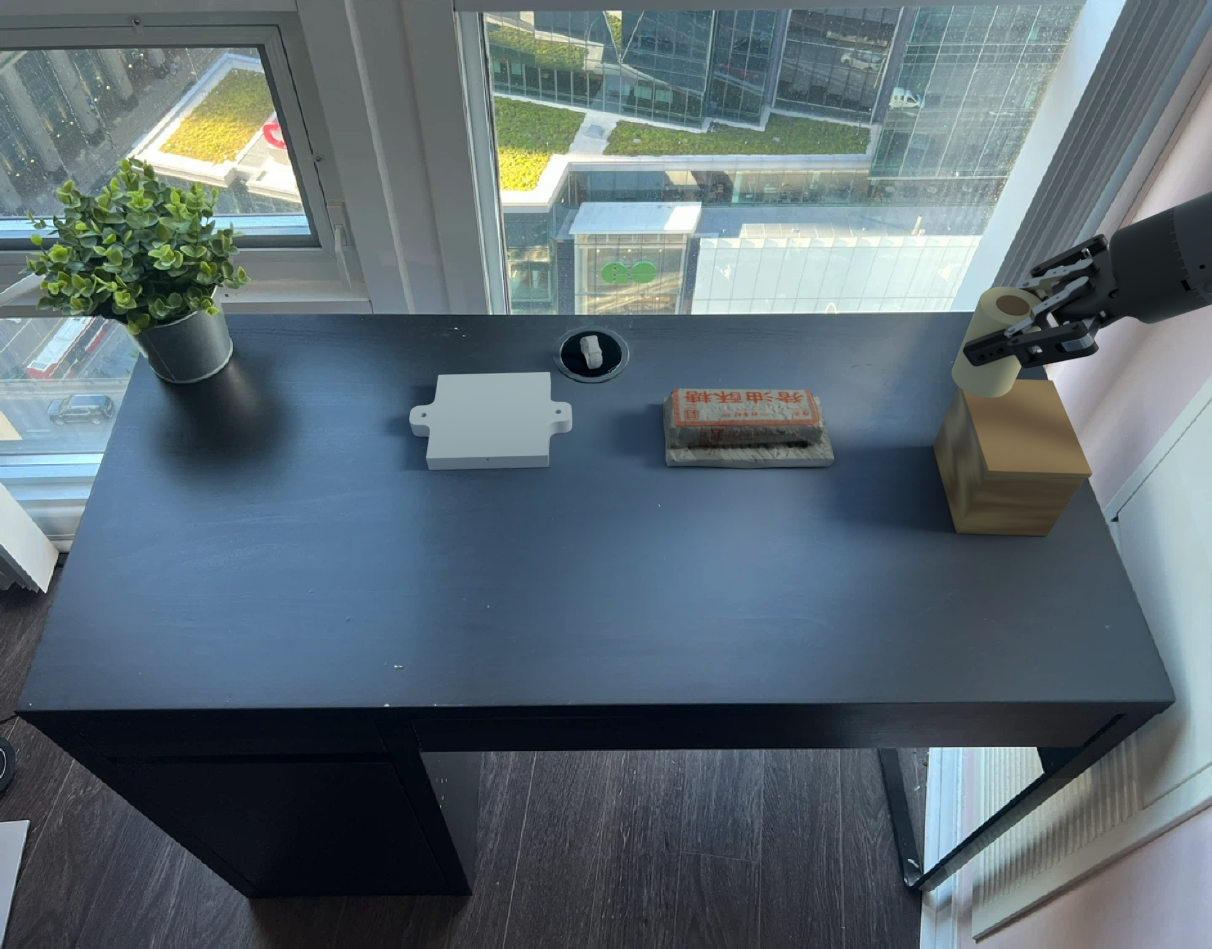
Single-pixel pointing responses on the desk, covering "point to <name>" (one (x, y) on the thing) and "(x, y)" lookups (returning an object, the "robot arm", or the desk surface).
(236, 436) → the desk surface
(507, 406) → the mounting plate
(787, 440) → the packaged product
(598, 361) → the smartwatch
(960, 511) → the oak box
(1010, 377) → the toilet paper roll
